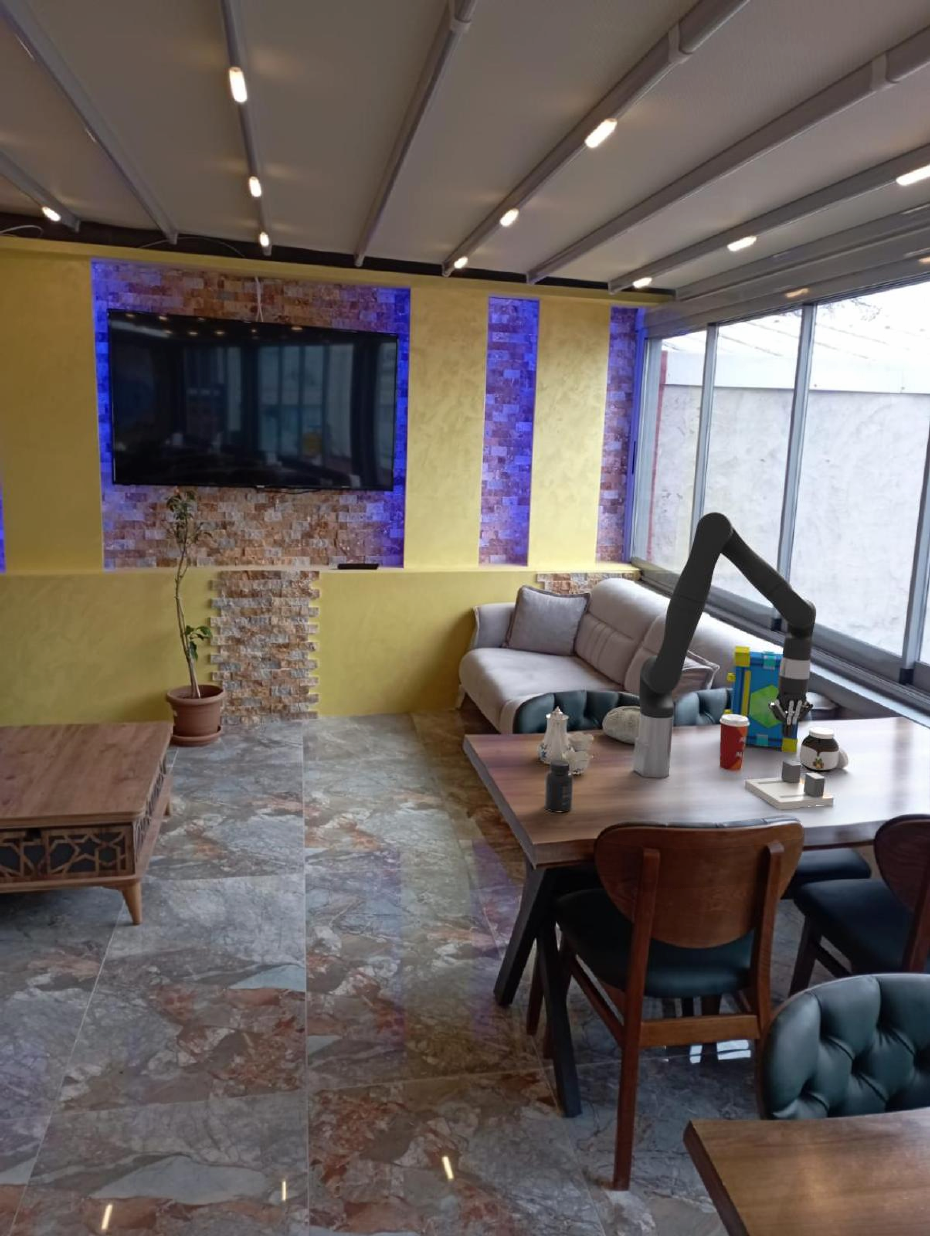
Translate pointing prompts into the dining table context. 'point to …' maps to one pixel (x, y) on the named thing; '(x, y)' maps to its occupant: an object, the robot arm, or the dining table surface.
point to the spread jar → (822, 751)
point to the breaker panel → (785, 793)
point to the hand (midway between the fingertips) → (787, 736)
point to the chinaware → (564, 743)
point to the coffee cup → (732, 741)
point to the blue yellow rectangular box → (759, 697)
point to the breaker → (814, 784)
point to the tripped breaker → (791, 771)
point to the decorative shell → (623, 723)
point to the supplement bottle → (559, 786)
